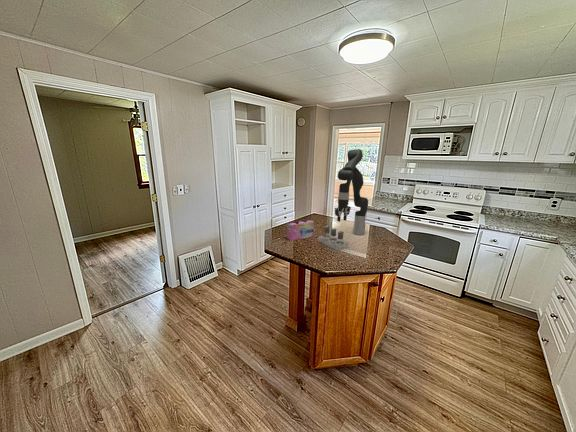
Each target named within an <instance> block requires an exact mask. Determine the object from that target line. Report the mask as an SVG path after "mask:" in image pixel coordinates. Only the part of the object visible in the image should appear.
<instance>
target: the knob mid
mask: <svg viewBox="0 0 576 432" xmlns="http://www.w3.org/2000/svg"><path fill="white" fill-rule="evenodd" d="M330 234H331V236H335V237H337V228H333V227H332V228H331V229H330Z"/></svg>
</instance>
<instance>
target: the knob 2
mask: <svg viewBox="0 0 576 432" xmlns="http://www.w3.org/2000/svg"><path fill="white" fill-rule="evenodd" d="M337 238H338V239H342V240H344V231H340V230H339V231H337Z"/></svg>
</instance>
